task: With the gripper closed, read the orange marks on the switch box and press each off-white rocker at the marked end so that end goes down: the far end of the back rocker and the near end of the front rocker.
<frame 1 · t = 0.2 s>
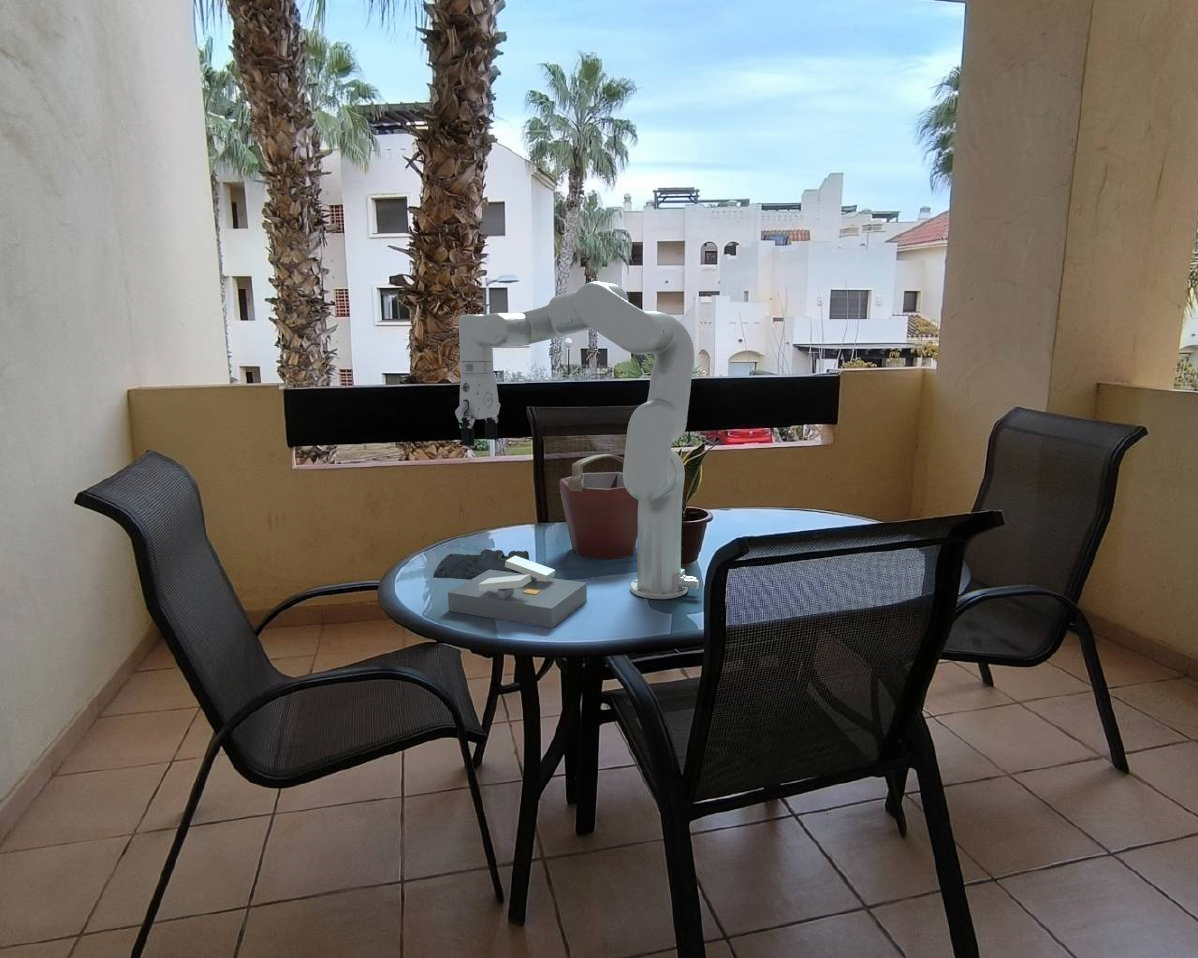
hand: (480, 442, 176), 31 cm above the table, tool pointing down, fingers open, 9 cm apart
bucket: (602, 550, 196), on the table
dark slate chunk: (483, 572, 181), on the table
front rocker: (504, 582, 151), point 7 cm above the table, hinge at 12.0°
switch box: (518, 605, 157), on the table
back rocker: (530, 568, 160), point 7 cm above the table, hinge at -12.0°
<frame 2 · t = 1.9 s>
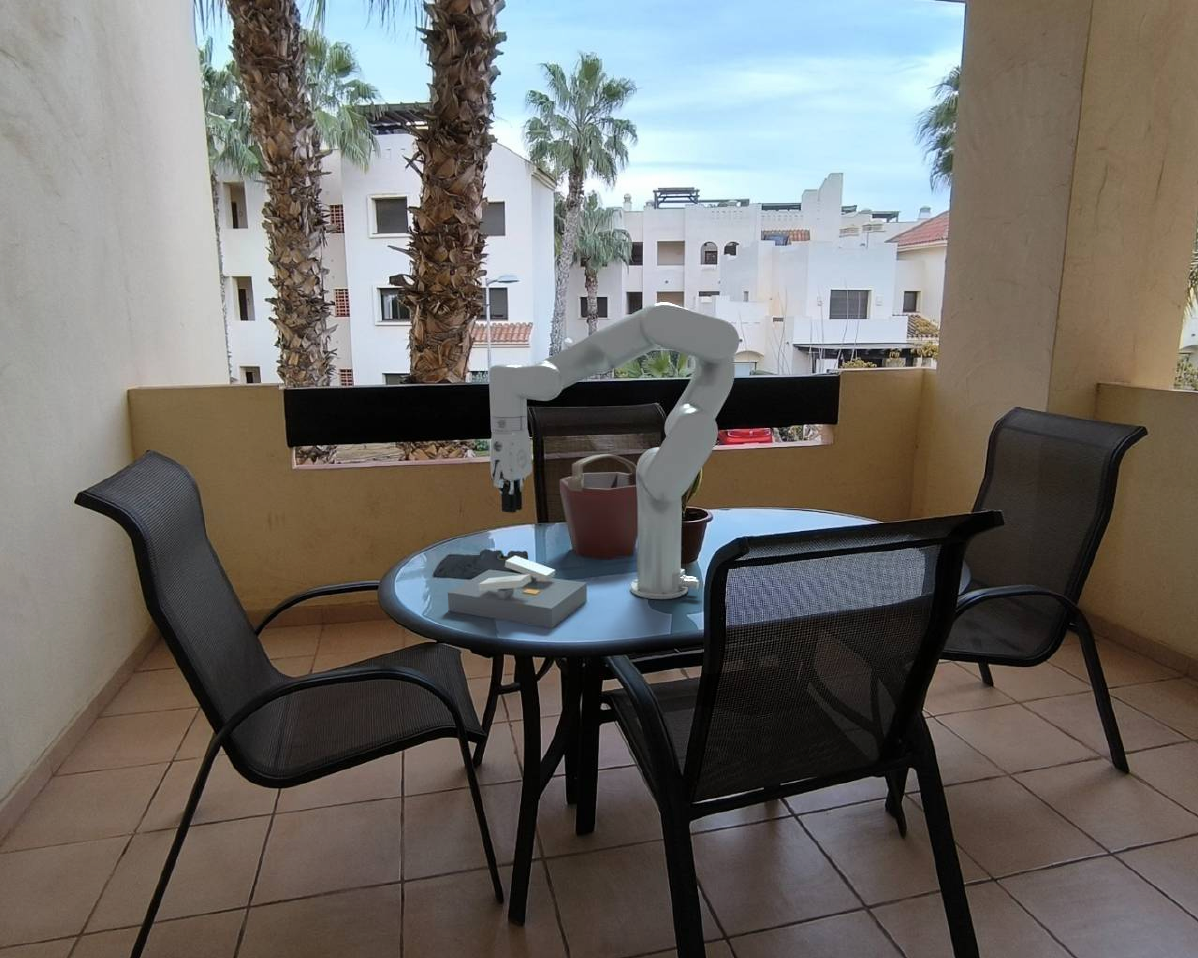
hand: (512, 510, 159), 19 cm above the table, tool pointing down, fingers closed
nothing on the table moved.
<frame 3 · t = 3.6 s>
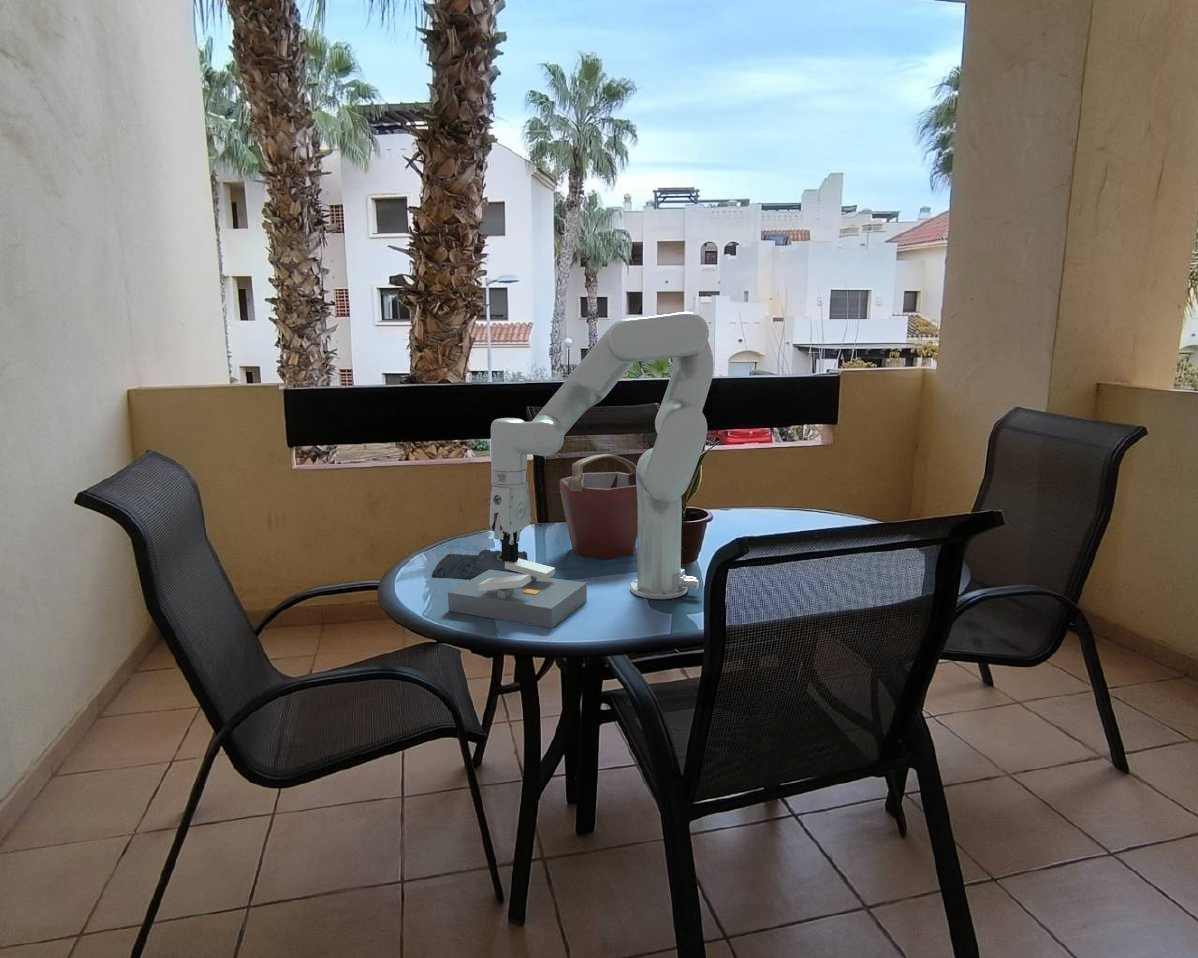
hand: (509, 560, 161), 8 cm above the table, tool pointing down, fingers closed
back rocker: (529, 568, 160), point 7 cm above the table, hinge at -7.2°, touching gripper
everything else where it was.
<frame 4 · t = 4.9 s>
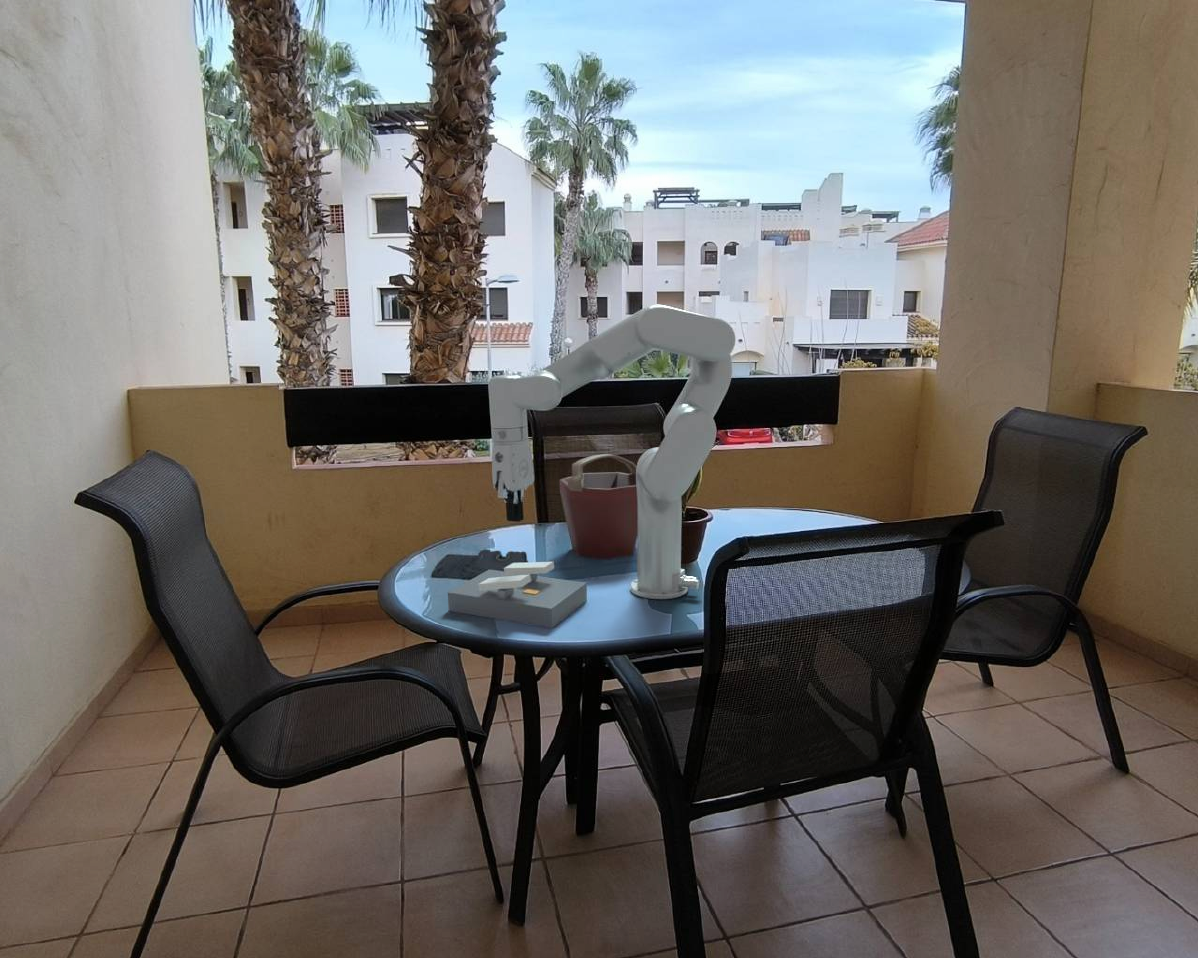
hand: (515, 520, 160), 17 cm above the table, tool pointing down, fingers closed
back rocker: (529, 568, 160), point 7 cm above the table, hinge at 8.3°
everything else where it was.
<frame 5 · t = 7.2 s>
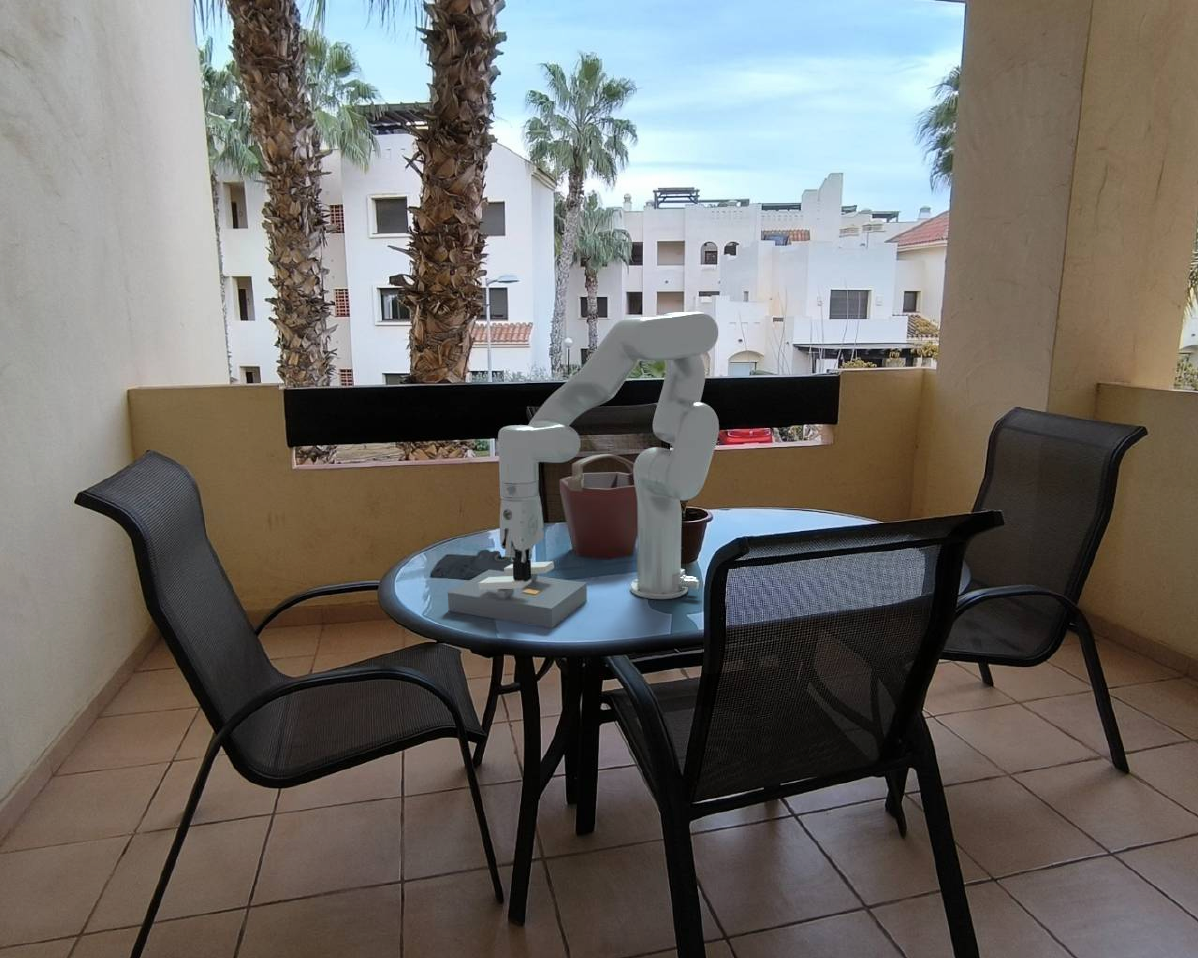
hand: (522, 579, 149), 8 cm above the table, tool pointing down, fingers closed
front rocker: (504, 582, 151), point 7 cm above the table, hinge at 9.1°, touching gripper
back rocker: (529, 568, 160), point 7 cm above the table, hinge at 8.9°
everything else where it was.
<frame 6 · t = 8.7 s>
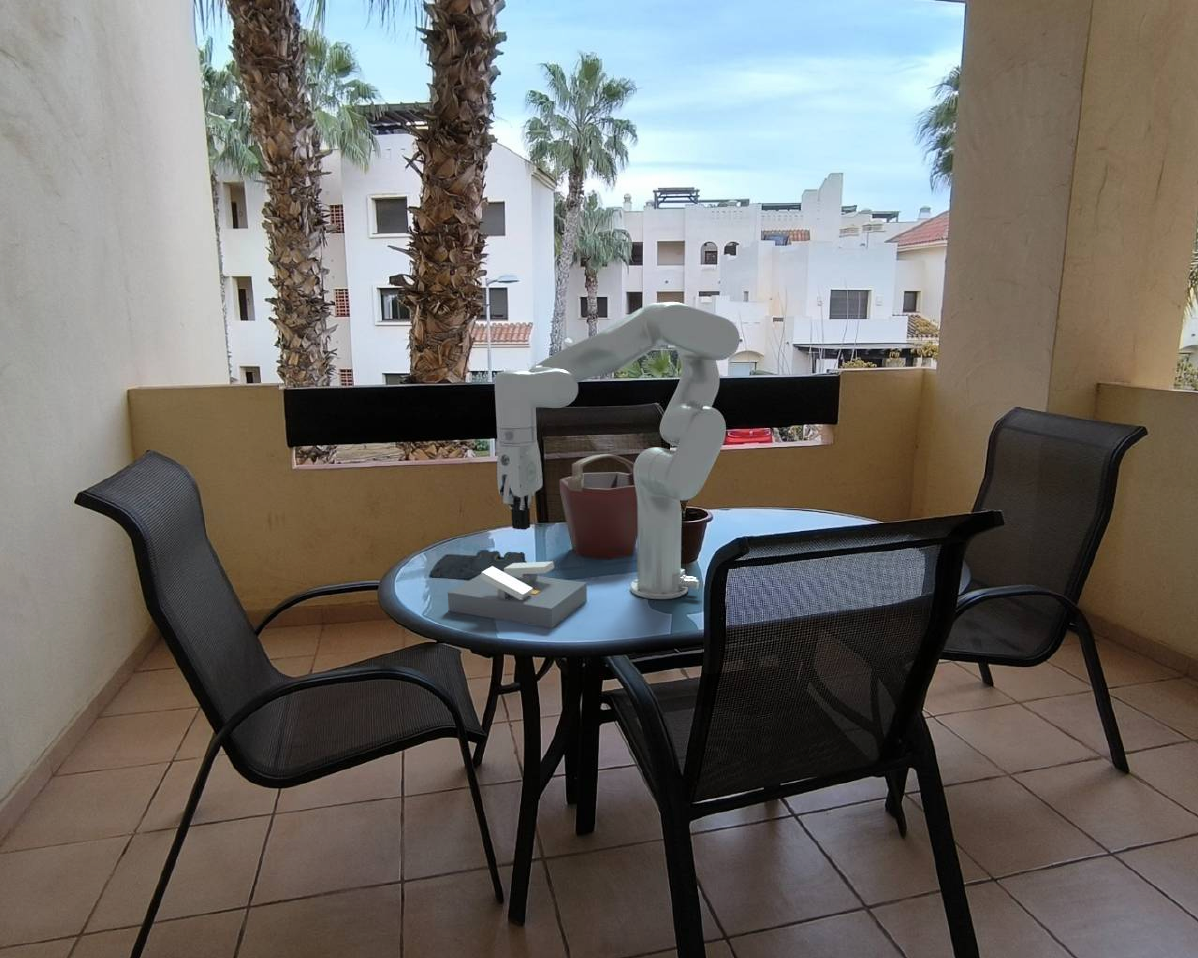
hand: (521, 527, 147), 18 cm above the table, tool pointing down, fingers closed
front rocker: (506, 582, 151), point 7 cm above the table, hinge at -20.4°
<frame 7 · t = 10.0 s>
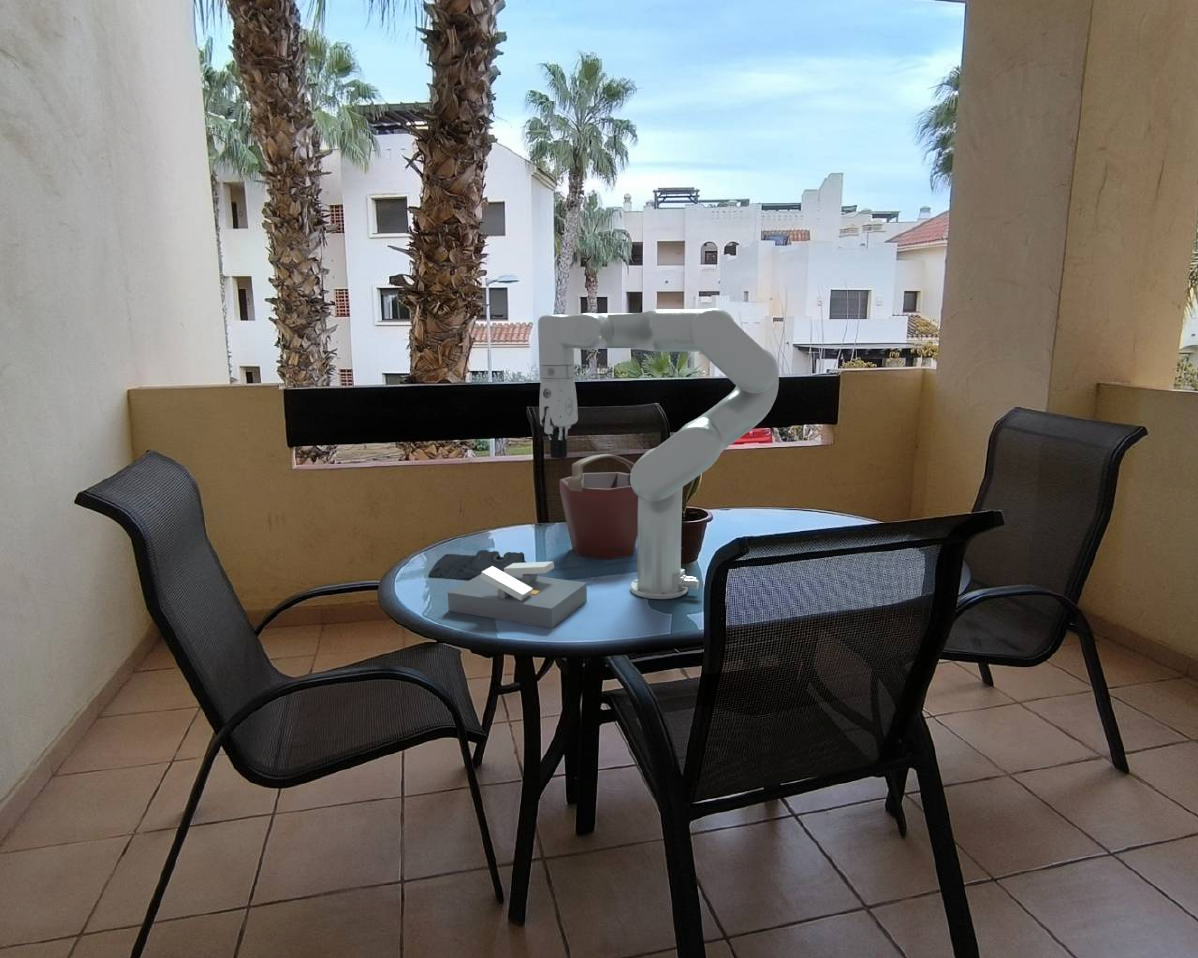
hand: (558, 457, 165), 29 cm above the table, tool pointing down, fingers closed
front rocker: (506, 582, 151), point 7 cm above the table, hinge at -21.0°
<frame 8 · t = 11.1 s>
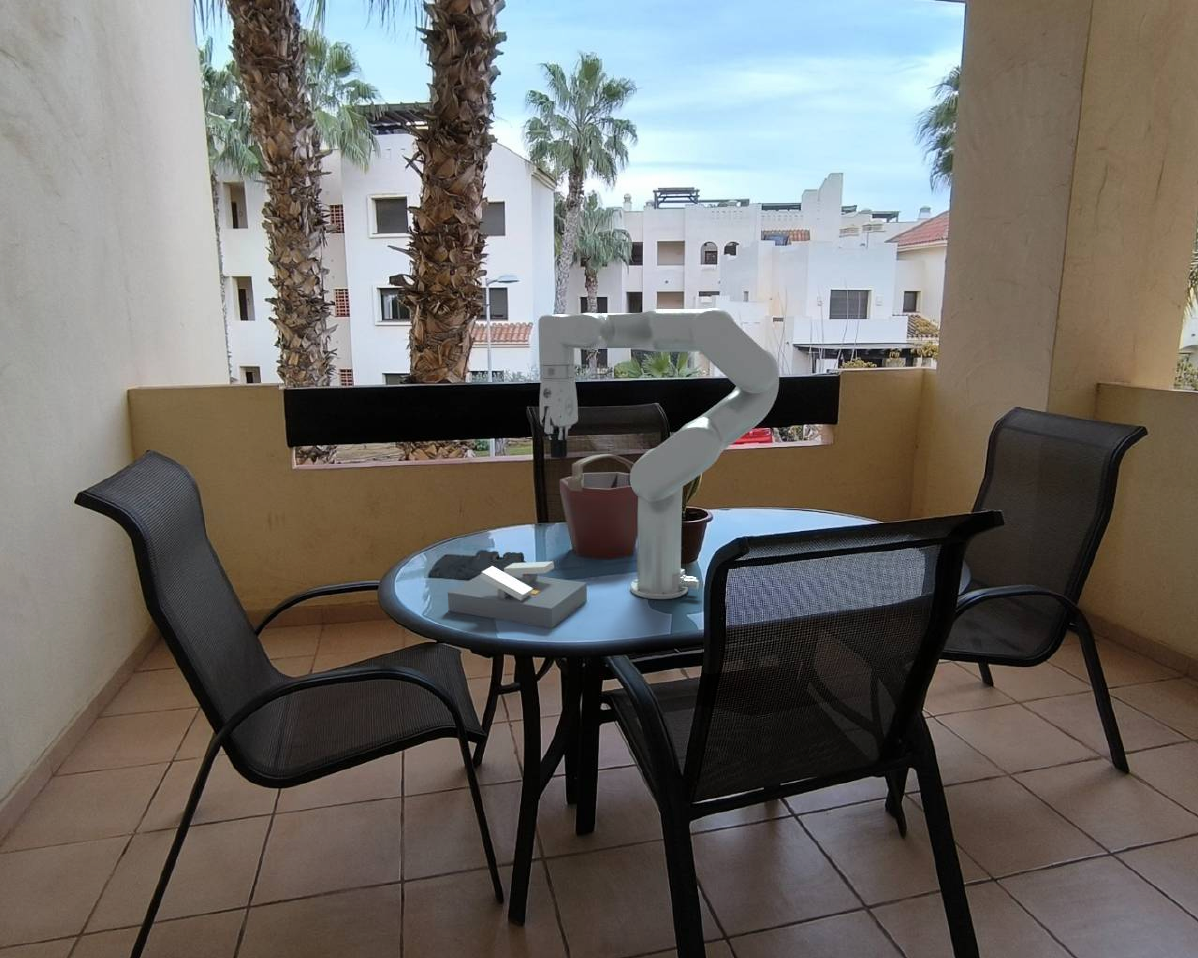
hand: (558, 457, 165), 29 cm above the table, tool pointing down, fingers closed
at the end: back rocker at +9° (first picture: -12°); front rocker at -21° (first picture: +12°) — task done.
